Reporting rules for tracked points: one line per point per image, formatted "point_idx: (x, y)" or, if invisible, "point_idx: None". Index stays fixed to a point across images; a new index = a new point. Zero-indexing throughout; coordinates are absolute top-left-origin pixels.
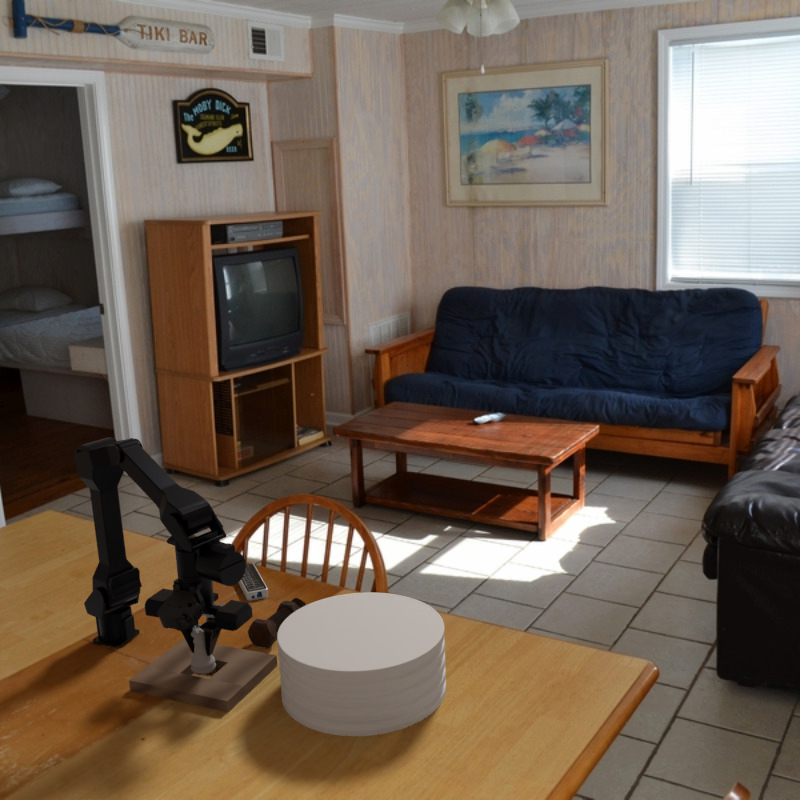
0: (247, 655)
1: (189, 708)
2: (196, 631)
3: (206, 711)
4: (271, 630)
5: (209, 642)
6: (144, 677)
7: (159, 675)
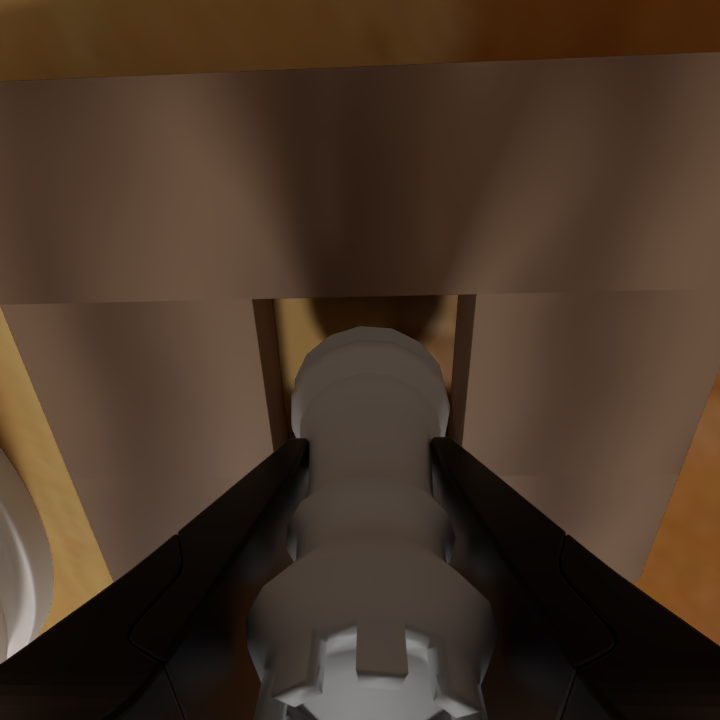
0: None
1: (237, 40)
2: (360, 657)
3: (114, 54)
4: None
5: (191, 525)
6: (715, 145)
7: (606, 214)
